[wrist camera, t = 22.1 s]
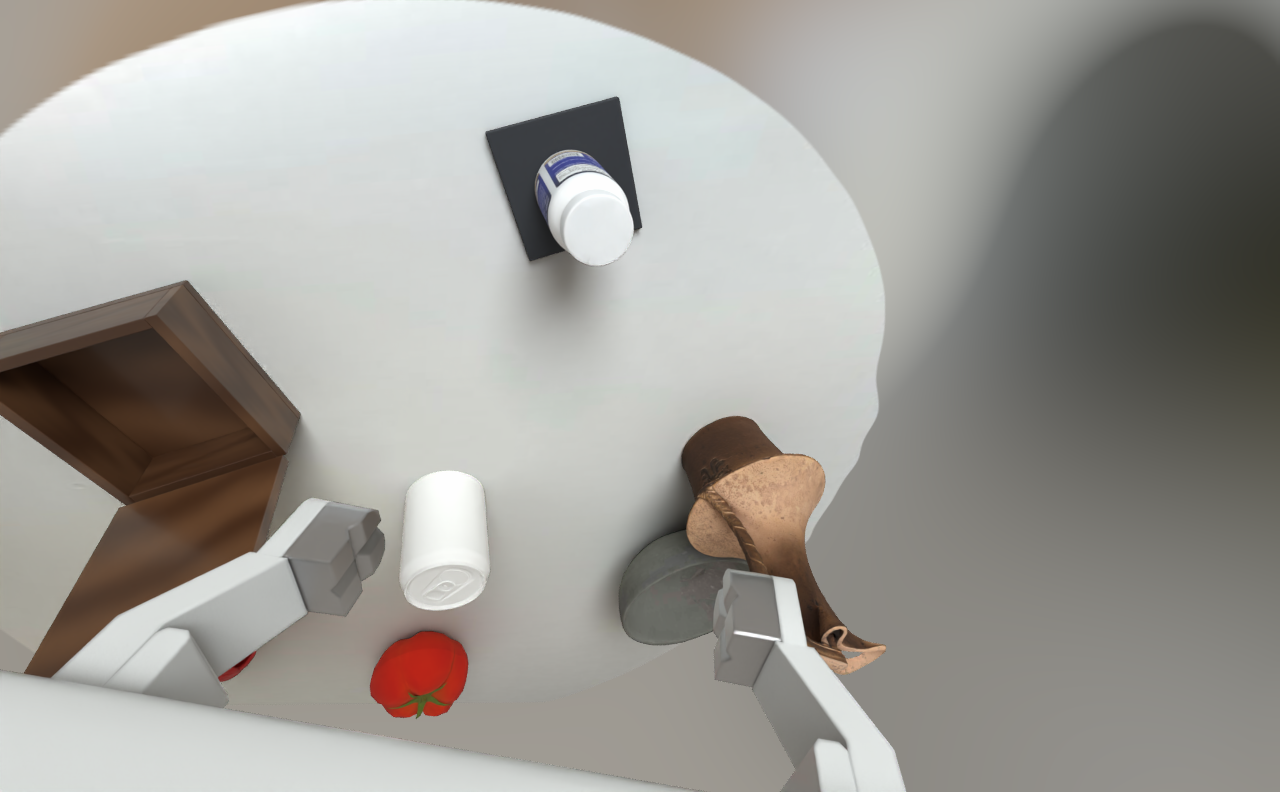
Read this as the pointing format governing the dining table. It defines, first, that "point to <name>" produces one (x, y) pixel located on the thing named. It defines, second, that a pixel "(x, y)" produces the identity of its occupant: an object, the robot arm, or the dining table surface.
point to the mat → (542, 137)
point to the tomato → (420, 675)
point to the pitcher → (765, 522)
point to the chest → (143, 393)
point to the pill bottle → (584, 208)
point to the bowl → (672, 591)
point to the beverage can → (444, 541)
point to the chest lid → (162, 552)
